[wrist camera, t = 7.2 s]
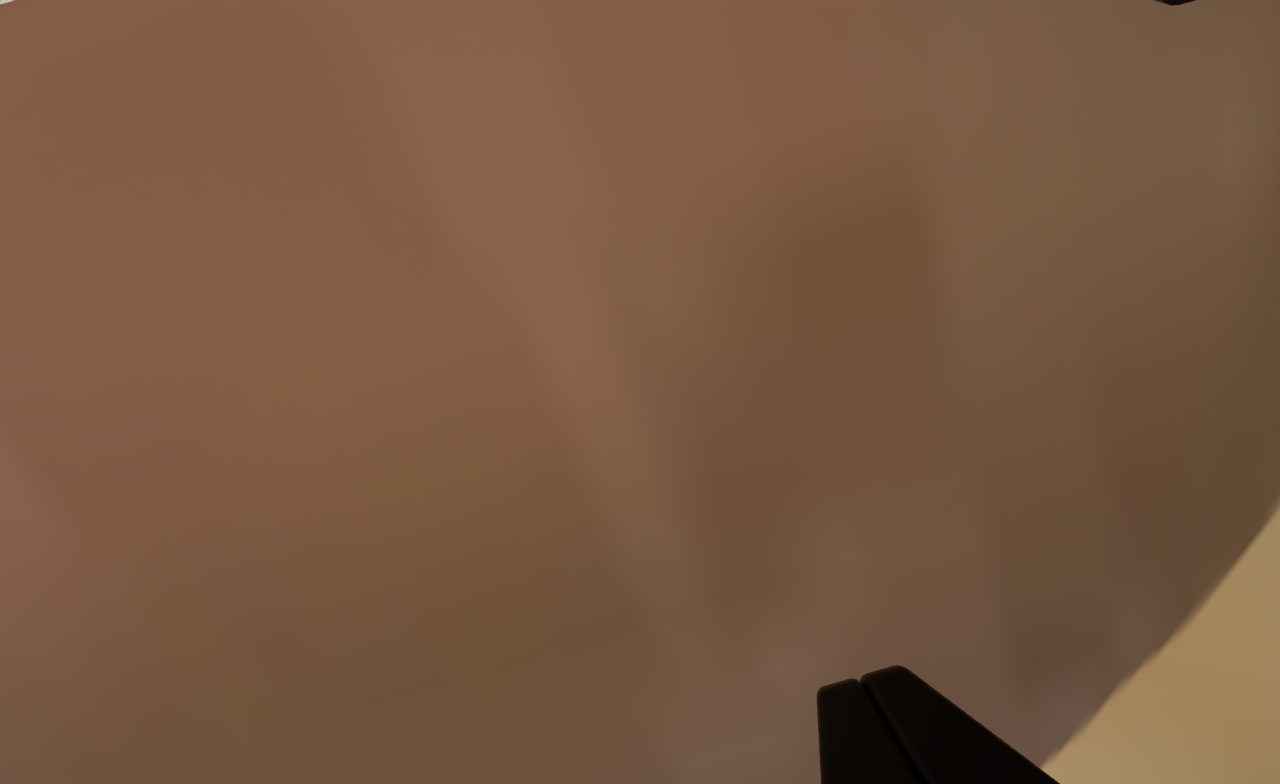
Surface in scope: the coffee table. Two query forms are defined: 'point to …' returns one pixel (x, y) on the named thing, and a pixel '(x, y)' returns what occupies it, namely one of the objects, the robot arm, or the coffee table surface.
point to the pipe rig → (5, 1)
